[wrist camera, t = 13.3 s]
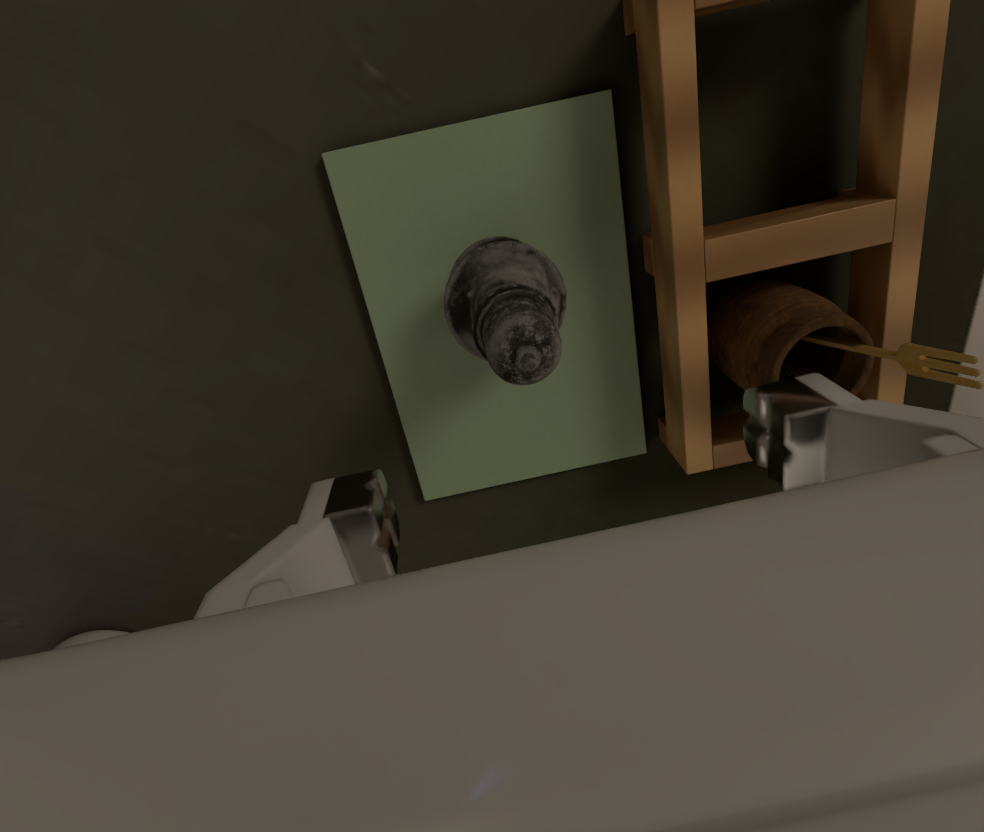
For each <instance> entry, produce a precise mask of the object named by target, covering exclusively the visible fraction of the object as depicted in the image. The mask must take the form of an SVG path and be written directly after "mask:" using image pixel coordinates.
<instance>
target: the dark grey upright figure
mask: <svg viewBox="0 0 984 832" xmlns="http://www.w3.org/2000/svg"><path fill="white" fill-rule="evenodd" d="M443 301H444V313H445V319H446V321H447V324H448V327H449V330H450V332H451V333H452V335H453V336H454V338H455V339H456V341H457V342H458V343H459V345H461V346H462V347H463V348H464V349H465V350H467V351H468V352H469V353H470V354H472V355H474V356H476V357H478V358H480V359H483V360H485V361H488V362H489V365H490V367H491V368H492V370H493V371H494V373H495V374H496V375H498V376H499V377H500V378H501V379H502V380H504V381H506V382H508V383H510V384H514V385H520V386H523V385H531V384H534V383H537V382H540V381H541V380H543V379H545V378H546V377H548V376H549V375H550V374H551V373H552V372H553V371H554V369H555V368H556V366H557V364H558V362H559V360H560V356H561V352H562V340H561V336H560V333H559V329H560V327H561V325H562V323H563V320H564V316H565V312H566V307H567V292H566V288H565V285H564V281H563V277H562V275H561V274H560V272H559V270H558V269H557V267H556V265H555V263H554V262H553V261H552V260H550V259H549V258H548V257H547V256H546V255H545V254H544V253H543V252H542V251H540V250H538V249H536V248H534V247H533V246H531V245H529V244H525V243H523V242H521V241H519V240H517V239H514V238H509V237H505V236H498V237H488V238H485V239H483V240H480V241H477V242H475V243H474V244H472V245H471V246H469V247H468V248H467V249H465V250H464V252H463V253H462V254H461V255H460V256H459V257H458V259H457V260H456V262H455V264H454V266H453V268H452V270H451V274H450V278H449V280H448V282H447V284H446V289H445V295H444V300H443Z"/></svg>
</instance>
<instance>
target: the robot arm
mask: <svg viewBox="0 0 984 832" xmlns="http://www.w3.org/2000/svg"><path fill="white" fill-rule="evenodd" d="M743 409H744V410H745V411H746V412H747V413H748V414H749V415H750V416H749V418H748V419H747V421H746V422H745V424H744V425H743V434H744V442H745V446H746V449H747V452H748V454H749V455H750V457H751V459H752V460H753V461H754V462H755V463H756V464H757V465H758V466H761V467H765V468H768V477H769V478H770V479H771V480H772V481H773V482H774V483H775V484H776V485H777V486H778V487H779V488H780V489H781V490H782V492H778V493H773V494H768V495H764V496H759V497H755V498H750V499H745V500H741V501H736V502H732V503H727V504H722V505H718V506H713V507H709V508H704V509H699V510H695V511H690V512H686V513H681V514H677V515H672V516H667V517H663V518H658V519H653V520H649V521H644V522H640V523H635V524H630V525H626V526H621V527H616V528H612V529H607V530H603V531H598V532H593V533H589V534H584V535H579V536H575V537H570V538H566V539H561V540H556V541H552V542H547V543H543V544H538V545H533V546H529V547H524V548H519V549H515V550H510V551H506V552H501V553H496V554H492V555H487V556H482V557H478V558H473V559H469V560H464V561H459V562H455V563H450V564H445V565H441V566H436V567H432V568H427V569H422V570H418V571H413V572H409V573H404V574H399V575H396V573H397V563H398V555H397V552H396V549H395V547H396V546H397V545H398V544H399V539H400V532H399V522H398V518H397V513H396V510H395V507H394V504H393V502H392V501H390V500H389V499H388V498H386V495H387V486H388V485H387V483H386V480H385V477H384V475H383V472H382V471H381V470H380V469H377V470H372V471H367V472H362V473H357V474H352V475H347V476H342V477H337V478H330V479H326V480H322V481H318V482H315V483H312V484H311V486H310V489H309V492H308V494H307V497H306V500H305V503H304V506H303V508H302V511H301V514H300V517H299V520H298V522H297V524H294V525H290V526H289V527H288V528H287V529H285V530H284V531H283V532H282V533H280V534H279V535H278V536H277V537H275V538H274V539H273V540H272V541H270V542H269V543H268V544H267V545H265V546H264V547H263V548H262V549H260V550H259V551H258V552H257V553H255V554H254V555H253V556H252V557H251V558H249V559H248V560H247V561H246V562H244V563H243V564H242V565H241V566H239V567H238V568H237V569H236V570H234V571H233V572H232V573H231V574H229V575H228V576H227V577H226V578H224V579H223V580H222V581H221V582H219V583H218V584H217V585H216V586H214V587H213V588H212V589H211V590H210V591H208V592H207V593H206V595H205V597H204V599H203V601H202V603H201V605H200V607H199V609H198V611H197V613H196V615H195V617H194V619H193V620H188V621H183V622H179V623H174V624H170V625H165V626H160V627H156V628H151V629H147V630H142V631H137V632H133V633H128V634H123V635H119V636H114V637H110V638H105V639H100V640H96V641H91V642H87V643H82V644H77V645H73V646H68V647H64V648H59V649H54V650H50V651H45V652H40V653H36V654H30V655H25V656H20V657H14V658H9V659H4V660H0V832H984V418H979V417H973V416H968V415H962V414H956V413H950V412H944V411H938V410H932V409H926V408H920V407H914V406H908V405H902V404H897V403H891V402H885V401H879V400H873V399H867V400H861V399H859V398H858V397H856V396H855V395H853V394H851V393H850V392H848V391H846V390H845V389H843V388H842V387H840V386H838V385H837V384H835V383H834V382H832V381H830V380H829V379H827V378H826V377H824V376H822V375H821V374H819V373H810V374H806V375H802V376H799V377H795V378H789V379H785V380H781V381H777V382H773V383H769V384H765V385H761V386H757V387H752V388H749V389H747V390H745V392H744V396H743Z"/></svg>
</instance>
